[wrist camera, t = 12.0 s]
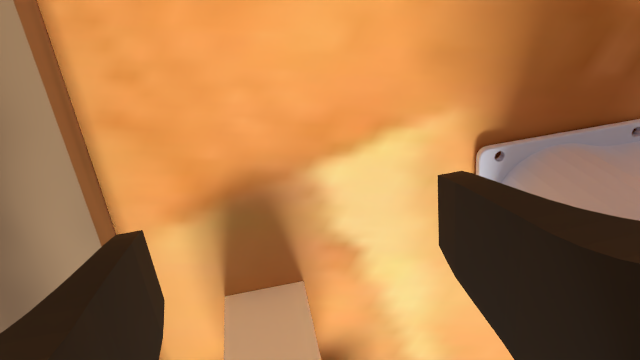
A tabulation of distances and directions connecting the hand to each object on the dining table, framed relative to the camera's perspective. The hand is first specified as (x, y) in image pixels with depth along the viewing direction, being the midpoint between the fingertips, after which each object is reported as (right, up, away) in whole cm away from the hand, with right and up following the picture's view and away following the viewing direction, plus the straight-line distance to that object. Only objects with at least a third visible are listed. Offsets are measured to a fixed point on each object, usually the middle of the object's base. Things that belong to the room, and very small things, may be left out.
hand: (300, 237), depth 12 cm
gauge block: (-2, -7, +14) cm, 16 cm away
